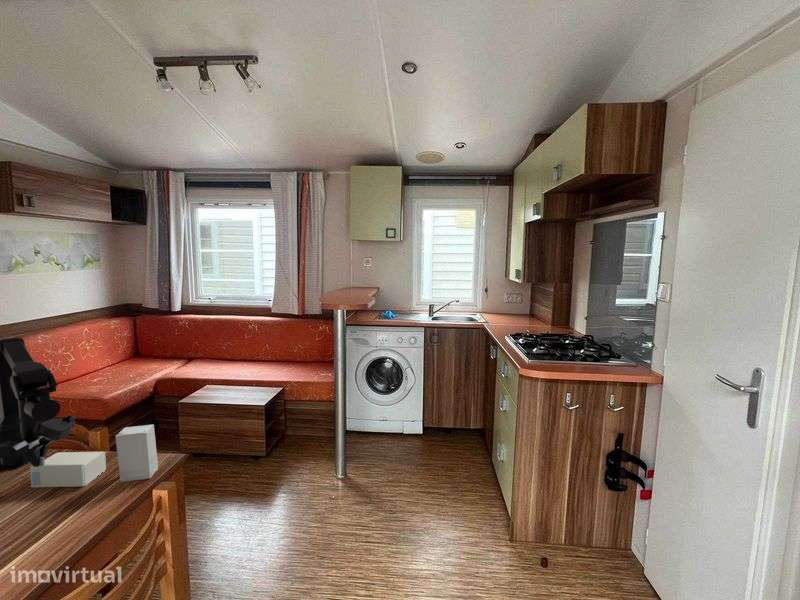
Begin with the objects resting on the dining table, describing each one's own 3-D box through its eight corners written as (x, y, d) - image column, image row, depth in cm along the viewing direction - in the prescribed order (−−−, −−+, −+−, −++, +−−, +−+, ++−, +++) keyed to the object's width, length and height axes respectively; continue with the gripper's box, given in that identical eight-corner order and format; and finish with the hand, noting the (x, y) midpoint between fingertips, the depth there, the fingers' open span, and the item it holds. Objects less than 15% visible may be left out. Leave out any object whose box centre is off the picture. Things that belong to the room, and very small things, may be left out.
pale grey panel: (31, 487, 103) (28, 458, 102) (33, 486, 103) (31, 457, 102) (82, 486, 103) (80, 457, 103) (84, 485, 104) (82, 456, 103)
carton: (34, 486, 103) (32, 466, 103) (58, 471, 111) (57, 452, 111) (85, 485, 104) (84, 465, 104) (106, 470, 112) (105, 451, 112)
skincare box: (158, 468, 113) (156, 423, 112) (149, 479, 108) (147, 432, 106) (128, 471, 112) (125, 425, 110) (117, 483, 106) (114, 434, 104)
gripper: (32, 427, 92) (37, 484, 94) (90, 400, 111) (93, 448, 112) (-14, 427, 92) (-9, 485, 93) (52, 400, 110) (55, 449, 112)
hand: (38, 465), depth 103 cm, fingers closed, pressing on pale grey panel
